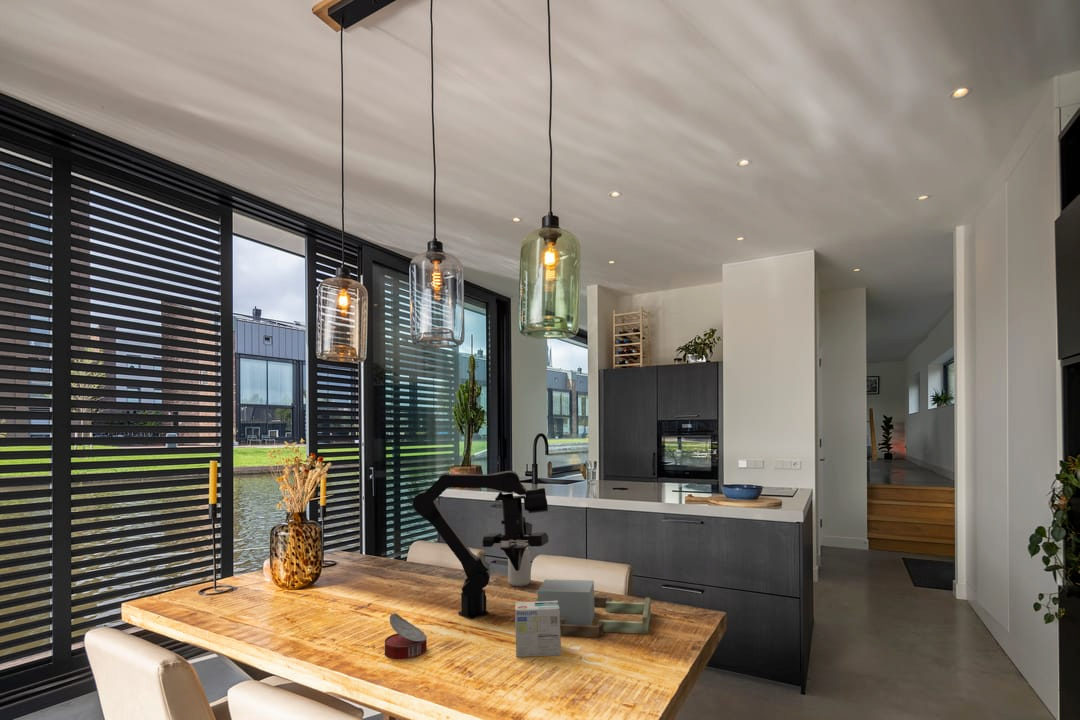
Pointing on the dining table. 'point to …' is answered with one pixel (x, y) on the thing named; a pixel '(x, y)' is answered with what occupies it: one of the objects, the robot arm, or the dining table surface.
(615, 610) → the lane
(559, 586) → the block
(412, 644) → the canned food
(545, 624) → the light bulb box
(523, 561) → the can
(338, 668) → the dining table surface
